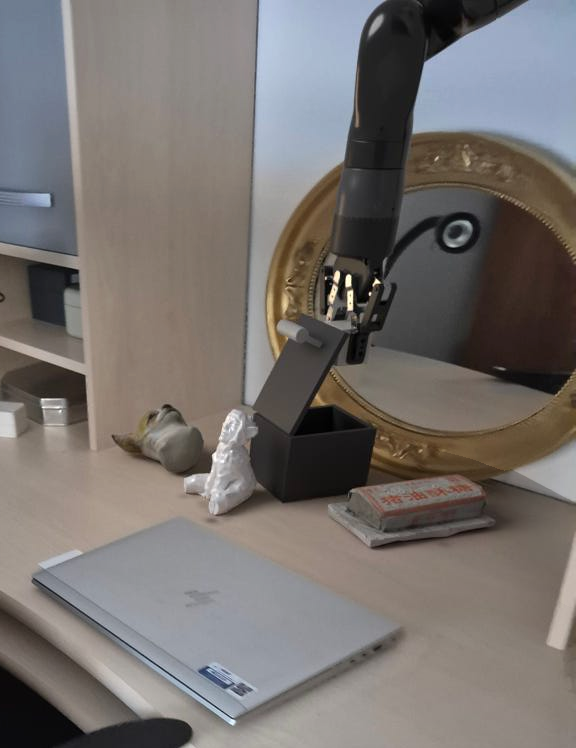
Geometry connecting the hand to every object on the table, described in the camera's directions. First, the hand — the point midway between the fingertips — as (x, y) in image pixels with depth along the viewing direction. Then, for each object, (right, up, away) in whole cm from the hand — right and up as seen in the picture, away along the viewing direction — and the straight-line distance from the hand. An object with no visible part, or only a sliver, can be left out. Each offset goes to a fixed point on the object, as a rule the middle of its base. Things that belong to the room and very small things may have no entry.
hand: (343, 357), depth 108 cm
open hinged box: (-3, -14, +9) cm, 17 cm away
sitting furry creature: (-15, -18, +4) cm, 23 cm away
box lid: (-6, -2, -1) cm, 6 cm away
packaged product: (+8, -22, -2) cm, 23 cm away
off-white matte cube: (0, 0, 0) cm, 0 cm away
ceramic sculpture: (-22, -10, +15) cm, 29 cm away
